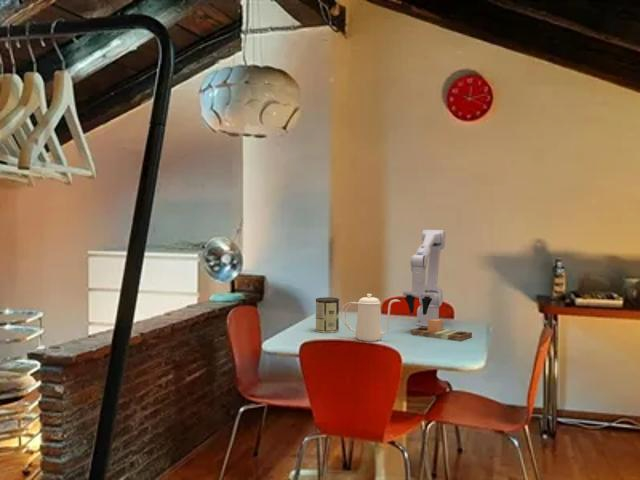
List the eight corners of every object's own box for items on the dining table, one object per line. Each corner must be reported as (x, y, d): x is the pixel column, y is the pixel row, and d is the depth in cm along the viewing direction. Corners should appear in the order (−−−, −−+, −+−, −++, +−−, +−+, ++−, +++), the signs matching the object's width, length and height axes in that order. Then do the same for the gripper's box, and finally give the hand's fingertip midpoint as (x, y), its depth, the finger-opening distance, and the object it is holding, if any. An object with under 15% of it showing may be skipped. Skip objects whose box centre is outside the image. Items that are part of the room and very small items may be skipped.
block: (427, 330, 300) (427, 320, 300) (432, 329, 304) (432, 318, 303) (437, 331, 297) (437, 321, 297) (441, 330, 301) (442, 319, 301)
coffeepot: (396, 344, 281) (397, 297, 280) (337, 339, 289) (337, 293, 288) (402, 339, 291) (403, 293, 290) (344, 334, 299) (345, 290, 298)
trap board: (410, 334, 301) (410, 330, 301) (422, 331, 310) (422, 326, 310) (460, 341, 288) (461, 336, 288) (471, 337, 297) (471, 332, 297)
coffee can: (326, 327, 316) (326, 296, 315) (343, 330, 309) (344, 298, 308) (310, 330, 308) (310, 298, 308) (327, 333, 301) (328, 301, 301)
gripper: (399, 281, 305) (398, 313, 306) (429, 284, 297) (429, 316, 297) (407, 280, 311) (406, 311, 311) (437, 283, 302) (436, 314, 303)
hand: (418, 313), depth 305 cm, fingers open, 6 cm apart
